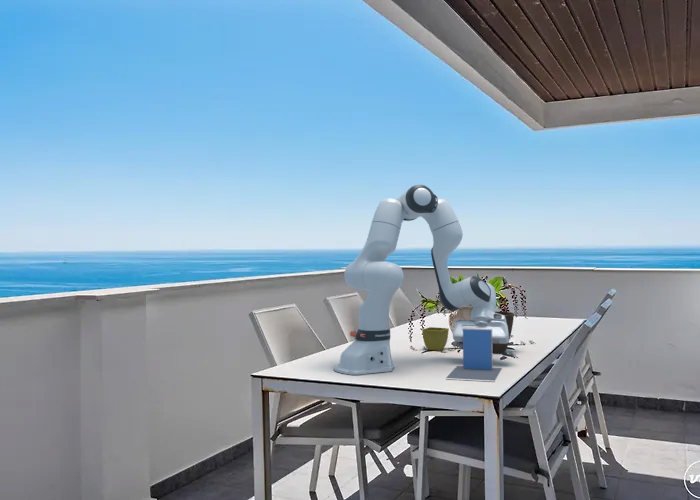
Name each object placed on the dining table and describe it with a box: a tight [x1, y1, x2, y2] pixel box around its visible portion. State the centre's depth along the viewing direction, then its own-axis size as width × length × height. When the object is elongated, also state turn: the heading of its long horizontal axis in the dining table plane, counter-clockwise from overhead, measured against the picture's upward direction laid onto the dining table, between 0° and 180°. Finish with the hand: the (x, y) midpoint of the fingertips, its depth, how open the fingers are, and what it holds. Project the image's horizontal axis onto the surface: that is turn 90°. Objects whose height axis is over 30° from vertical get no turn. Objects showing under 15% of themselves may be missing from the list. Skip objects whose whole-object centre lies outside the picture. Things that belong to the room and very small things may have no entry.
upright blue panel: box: [462, 328, 494, 370], centre depth 230 cm, size 2×10×14 cm, turn 71°
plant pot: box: [492, 311, 515, 354], centre depth 269 cm, size 15×15×16 cm
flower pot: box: [422, 326, 449, 352], centre depth 276 cm, size 9×9×9 cm
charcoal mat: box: [445, 365, 503, 383], centre depth 223 cm, size 22×16×1 cm
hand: (479, 350), depth 234 cm, fingers closed
